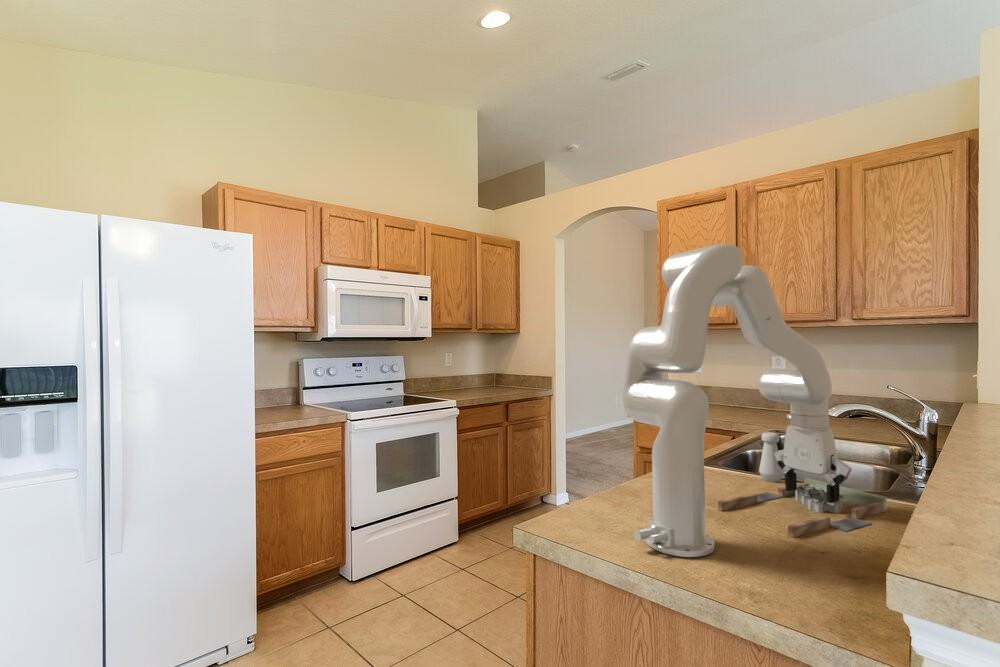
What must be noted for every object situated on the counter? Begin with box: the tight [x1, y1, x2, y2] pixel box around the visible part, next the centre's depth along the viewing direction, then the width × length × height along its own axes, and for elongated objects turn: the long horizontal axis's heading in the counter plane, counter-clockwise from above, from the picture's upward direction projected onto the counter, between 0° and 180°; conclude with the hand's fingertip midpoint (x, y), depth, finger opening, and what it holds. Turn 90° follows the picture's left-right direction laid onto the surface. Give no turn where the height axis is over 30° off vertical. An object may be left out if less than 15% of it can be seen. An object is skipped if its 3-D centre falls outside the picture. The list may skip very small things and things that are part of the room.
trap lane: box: [717, 477, 888, 539], centre depth 114 cm, size 32×24×3 cm
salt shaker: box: [758, 431, 784, 483], centre depth 138 cm, size 6×6×13 cm
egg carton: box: [795, 485, 844, 514], centre depth 117 cm, size 11×8×4 cm
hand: (811, 495), depth 115 cm, fingers open, 9 cm apart
